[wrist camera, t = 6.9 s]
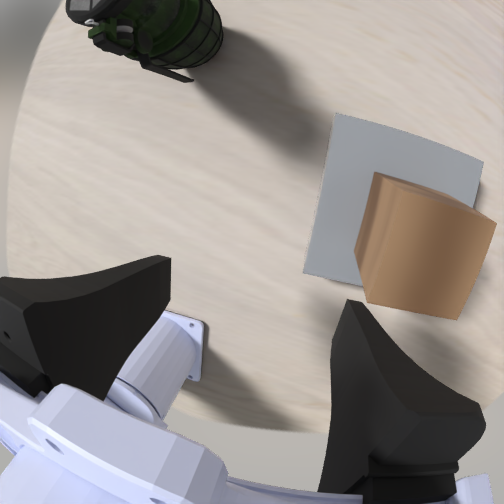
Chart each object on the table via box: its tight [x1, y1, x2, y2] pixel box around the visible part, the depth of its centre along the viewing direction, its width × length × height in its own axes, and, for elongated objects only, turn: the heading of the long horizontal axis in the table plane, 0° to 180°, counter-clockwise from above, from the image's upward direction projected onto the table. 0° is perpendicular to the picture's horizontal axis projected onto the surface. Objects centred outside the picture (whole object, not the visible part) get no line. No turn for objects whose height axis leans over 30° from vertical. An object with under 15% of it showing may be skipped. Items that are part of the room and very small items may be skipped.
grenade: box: [66, 0, 223, 83], centre depth 12 cm, size 6×6×12 cm
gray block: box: [303, 113, 484, 286], centre depth 18 cm, size 10×10×4 cm
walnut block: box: [354, 172, 497, 320], centre depth 14 cm, size 5×5×6 cm
